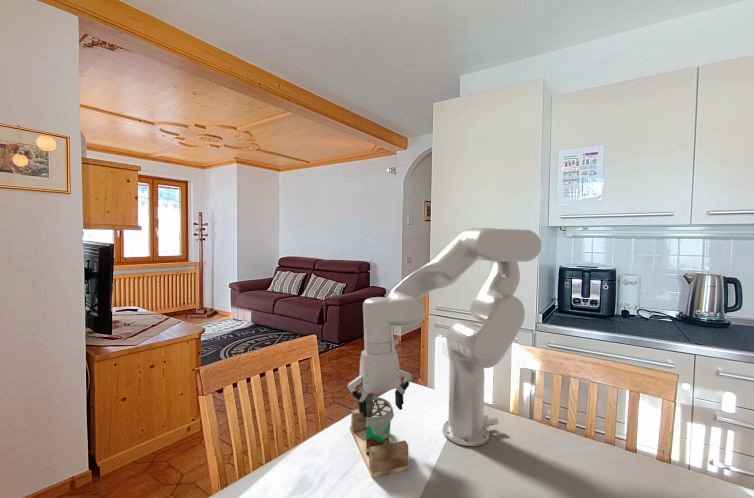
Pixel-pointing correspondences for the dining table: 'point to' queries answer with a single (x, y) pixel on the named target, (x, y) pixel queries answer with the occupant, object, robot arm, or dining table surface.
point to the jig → (382, 455)
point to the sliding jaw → (357, 418)
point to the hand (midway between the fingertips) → (381, 410)
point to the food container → (378, 423)
